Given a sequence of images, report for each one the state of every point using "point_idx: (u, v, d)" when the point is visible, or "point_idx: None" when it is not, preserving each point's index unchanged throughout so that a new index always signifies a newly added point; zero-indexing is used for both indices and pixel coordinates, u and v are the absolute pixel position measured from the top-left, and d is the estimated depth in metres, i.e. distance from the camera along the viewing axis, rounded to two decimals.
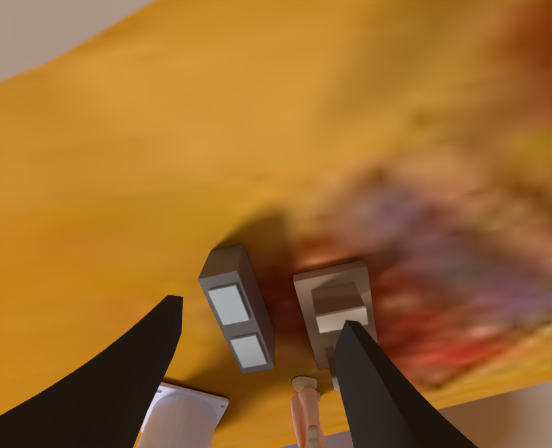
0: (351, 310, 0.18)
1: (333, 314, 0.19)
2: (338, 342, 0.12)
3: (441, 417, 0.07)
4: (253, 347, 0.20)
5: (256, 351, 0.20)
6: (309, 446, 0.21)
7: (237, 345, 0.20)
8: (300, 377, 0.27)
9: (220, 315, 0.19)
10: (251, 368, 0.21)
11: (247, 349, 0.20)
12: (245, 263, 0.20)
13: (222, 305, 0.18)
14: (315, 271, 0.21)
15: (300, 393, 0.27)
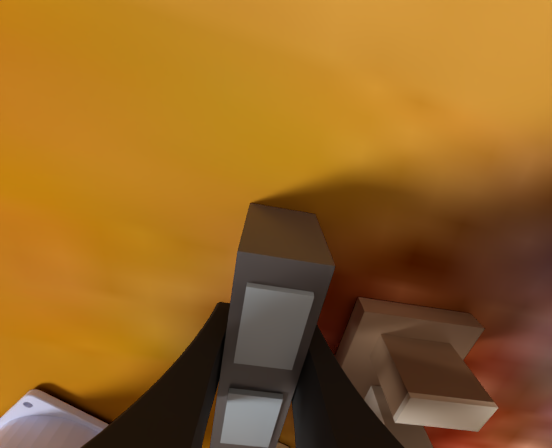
0: (473, 404, 0.10)
1: (441, 401, 0.10)
2: None
3: (368, 409, 0.07)
4: (264, 417, 0.10)
5: (264, 424, 0.10)
6: None
7: (236, 405, 0.10)
8: None
9: (239, 342, 0.08)
10: (232, 444, 0.11)
11: (250, 416, 0.10)
12: None
13: (257, 325, 0.08)
14: (397, 305, 0.13)
15: None
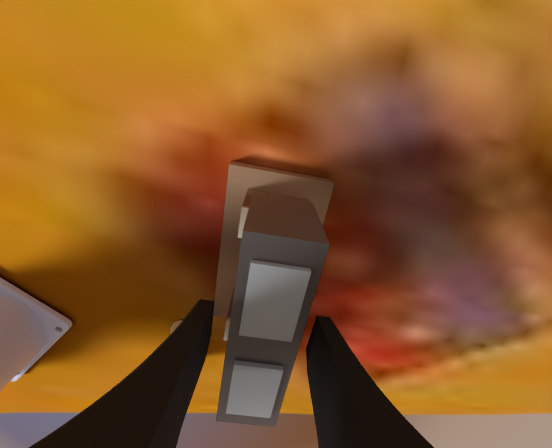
0: None
1: None
2: (310, 338, 0.12)
3: (397, 412, 0.07)
4: (266, 387, 0.11)
5: (266, 394, 0.11)
6: None
7: (241, 376, 0.10)
8: None
9: (244, 316, 0.09)
10: (237, 416, 0.12)
11: (253, 387, 0.11)
12: None
13: (260, 299, 0.09)
14: (264, 167, 0.15)
15: None
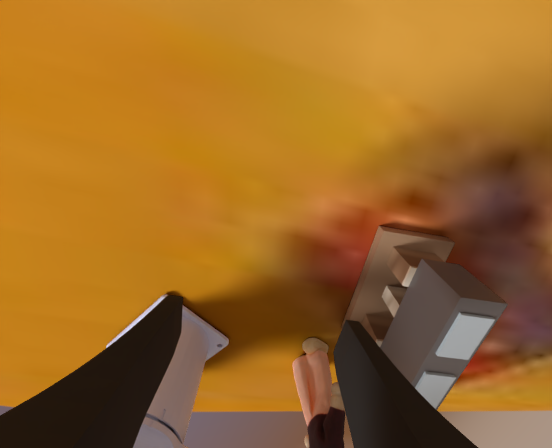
0: None
1: None
2: (338, 342, 0.12)
3: (441, 417, 0.07)
4: (441, 389, 0.17)
5: (439, 393, 0.17)
6: (334, 401, 0.20)
7: (428, 381, 0.16)
8: (315, 339, 0.26)
9: (444, 344, 0.15)
10: None
11: (432, 388, 0.17)
12: None
13: (459, 335, 0.15)
14: (402, 230, 0.21)
15: (311, 354, 0.25)
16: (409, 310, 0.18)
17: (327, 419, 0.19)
